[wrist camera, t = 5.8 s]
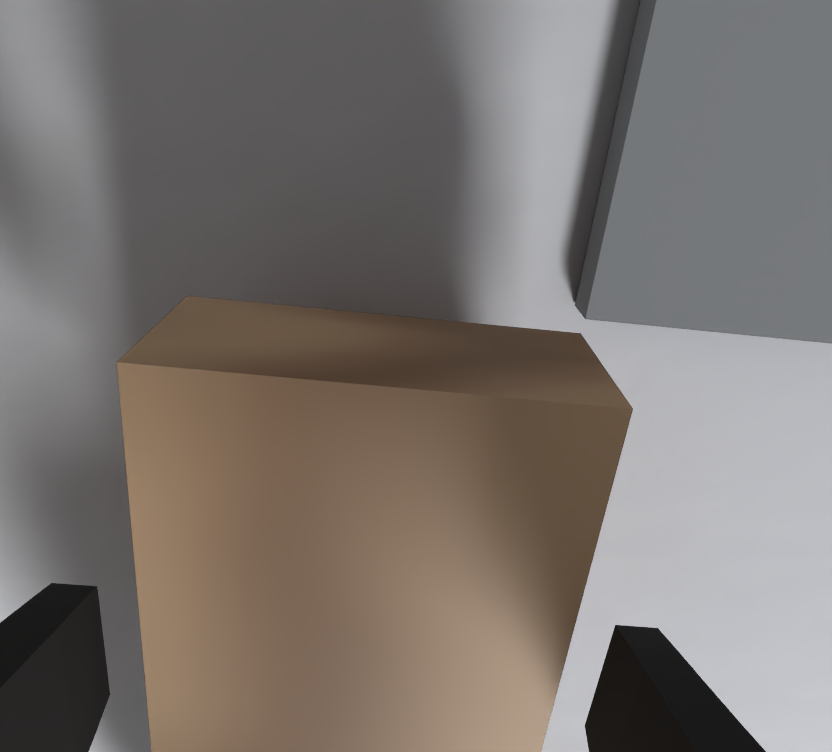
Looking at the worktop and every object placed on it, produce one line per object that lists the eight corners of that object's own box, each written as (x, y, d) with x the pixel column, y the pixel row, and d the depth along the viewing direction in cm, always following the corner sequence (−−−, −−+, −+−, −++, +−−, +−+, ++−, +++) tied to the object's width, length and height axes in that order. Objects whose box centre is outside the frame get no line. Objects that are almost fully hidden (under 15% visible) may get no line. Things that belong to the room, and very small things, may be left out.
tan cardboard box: (580, 333, 9) (632, 408, 7) (491, 737, 13) (508, 872, 11) (187, 295, 9) (117, 361, 7) (204, 719, 13) (160, 854, 10)
